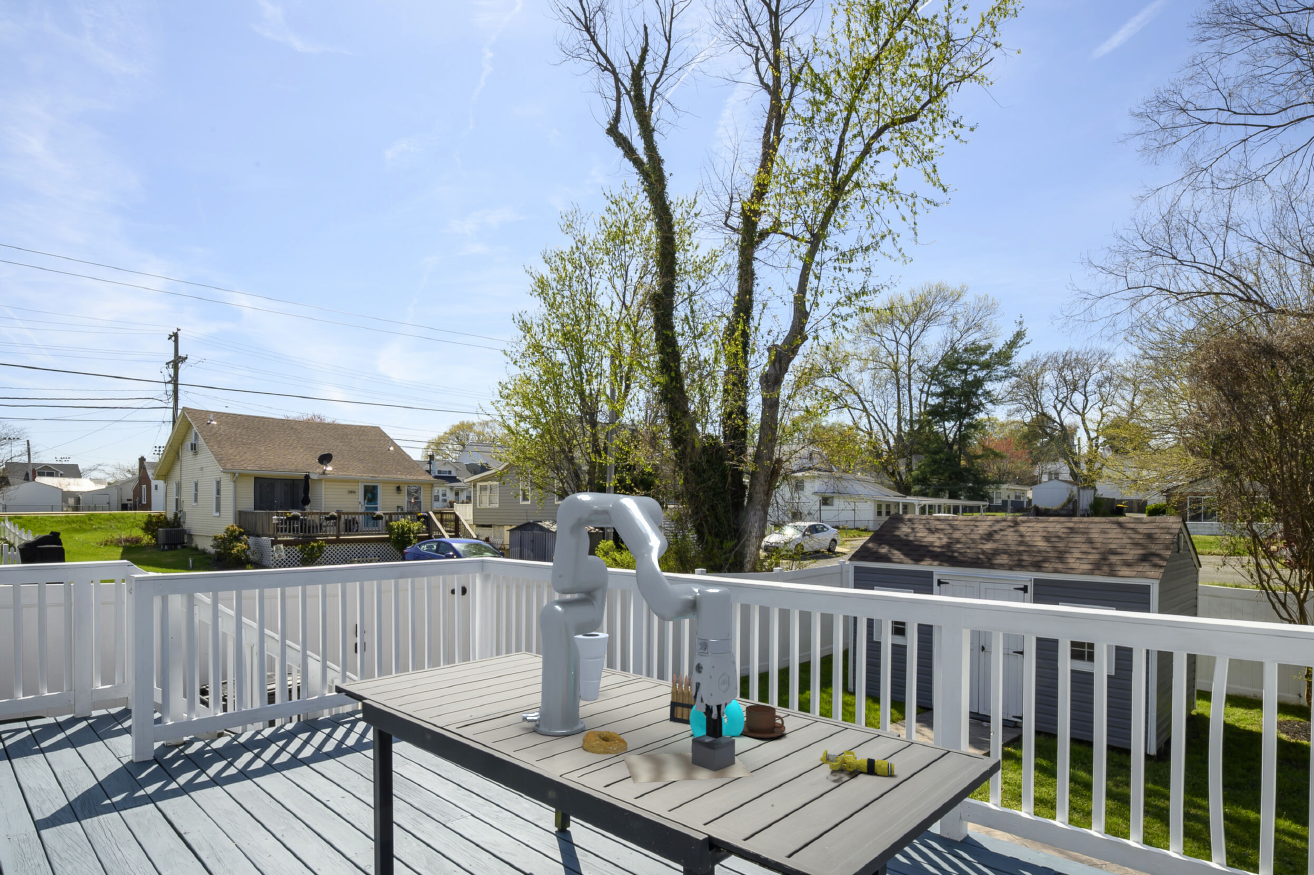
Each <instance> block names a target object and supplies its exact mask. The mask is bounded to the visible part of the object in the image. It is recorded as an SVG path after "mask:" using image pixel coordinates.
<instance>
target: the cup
mask: <svg viewBox="0 0 1314 875" xmlns="http://www.w3.org/2000/svg"><path fill="white" fill-rule="evenodd" d="M574 638H575V641H576V643H577V645H578V648H579V651H580V700H582V701H588V702H589V701H590V702H591V701H597V700H598V698H599V692H600V687H601V681H602V676H603V671H604V666H605V659H606V653H607V647H608V642H609V634H608V633H604V632H596V631H594V632H592V633H588V634H583V635H577V636H574Z"/></svg>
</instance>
